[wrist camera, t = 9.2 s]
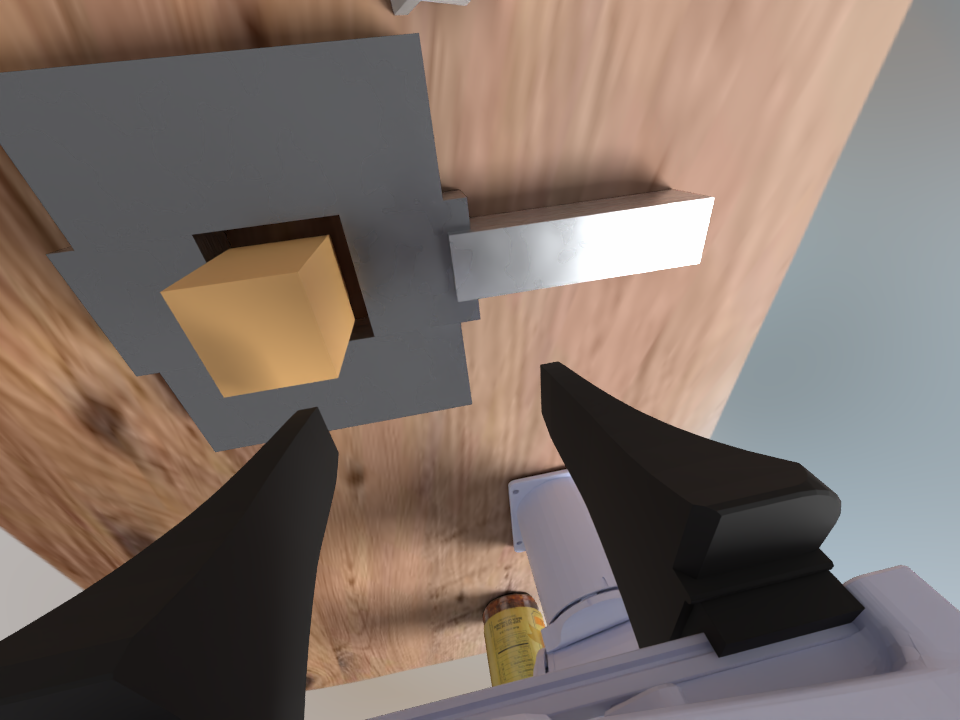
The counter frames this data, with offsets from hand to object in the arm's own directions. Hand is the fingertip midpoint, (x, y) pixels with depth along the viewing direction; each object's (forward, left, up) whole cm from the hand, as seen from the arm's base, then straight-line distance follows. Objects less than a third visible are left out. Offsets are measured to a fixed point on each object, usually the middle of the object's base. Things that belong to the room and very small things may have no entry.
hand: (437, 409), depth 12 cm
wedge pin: (+2, +5, -9) cm, 11 cm away
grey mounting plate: (+2, 0, -9) cm, 10 cm away
